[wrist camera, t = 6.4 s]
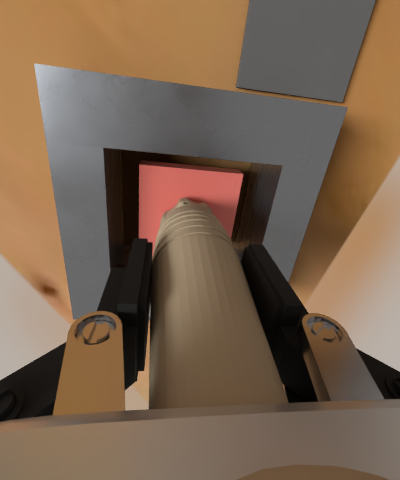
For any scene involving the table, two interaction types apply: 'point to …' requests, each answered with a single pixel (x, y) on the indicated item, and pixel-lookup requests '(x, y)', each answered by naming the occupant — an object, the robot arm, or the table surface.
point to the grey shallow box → (176, 143)
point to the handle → (212, 330)
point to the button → (185, 193)
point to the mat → (302, 46)
